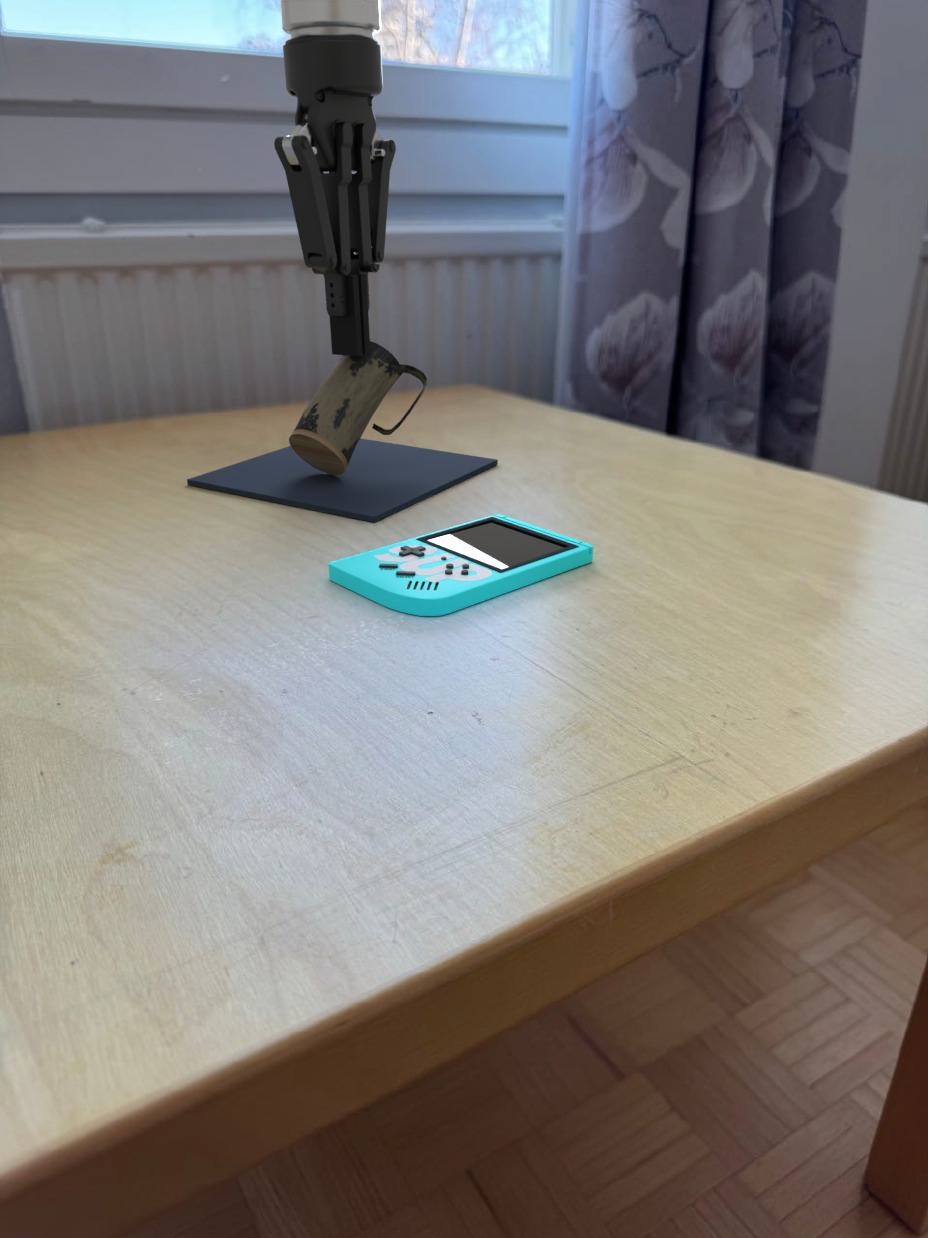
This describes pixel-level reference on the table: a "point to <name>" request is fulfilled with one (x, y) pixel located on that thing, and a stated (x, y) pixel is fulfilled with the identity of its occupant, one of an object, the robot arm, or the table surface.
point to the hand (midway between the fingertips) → (351, 353)
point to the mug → (347, 408)
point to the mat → (348, 479)
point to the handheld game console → (459, 565)
